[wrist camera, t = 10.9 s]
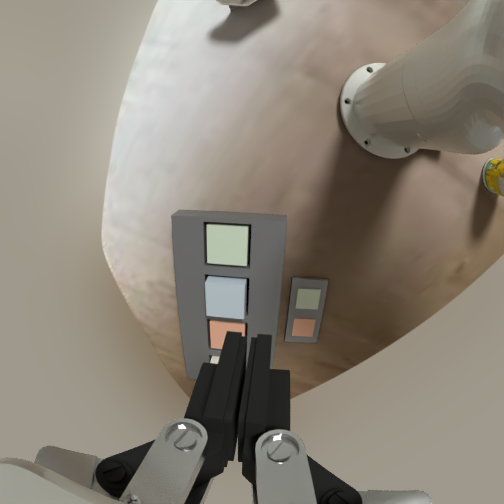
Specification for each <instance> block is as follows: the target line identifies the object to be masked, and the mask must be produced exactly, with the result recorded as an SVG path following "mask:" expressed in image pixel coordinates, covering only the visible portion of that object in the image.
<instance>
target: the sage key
mask: <svg viewBox="0 0 504 504" xmlns="http://www.w3.org/2000/svg"><path fill="white" fill-rule="evenodd" d="M249 242H250V224H238V223H220V222H209V223H208V224H207V263H212V264H225V265H238V266H247V263H248V259H249Z"/></svg>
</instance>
